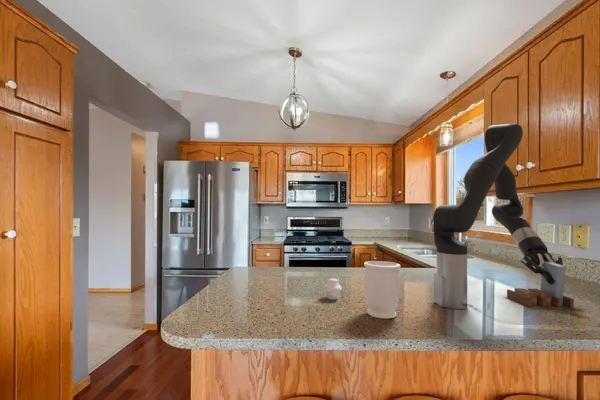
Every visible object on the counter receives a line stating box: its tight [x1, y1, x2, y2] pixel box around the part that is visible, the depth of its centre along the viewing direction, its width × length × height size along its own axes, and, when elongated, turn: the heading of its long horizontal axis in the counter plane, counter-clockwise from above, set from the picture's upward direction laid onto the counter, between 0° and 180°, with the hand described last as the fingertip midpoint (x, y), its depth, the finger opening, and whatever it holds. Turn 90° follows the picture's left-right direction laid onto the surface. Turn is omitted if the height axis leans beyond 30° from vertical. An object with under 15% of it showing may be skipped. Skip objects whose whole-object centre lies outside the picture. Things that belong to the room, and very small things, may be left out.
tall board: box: [540, 262, 566, 306], centre depth 99 cm, size 2×6×13 cm, turn 0°
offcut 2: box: [527, 288, 551, 306], centre depth 100 cm, size 3×6×4 cm, turn 179°
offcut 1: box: [513, 287, 537, 306], centre depth 100 cm, size 3×6×4 cm, turn 179°
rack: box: [505, 289, 575, 310], centre depth 100 cm, size 15×11×4 cm
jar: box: [363, 260, 402, 320], centre depth 88 cm, size 11×10×15 cm
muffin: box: [323, 278, 343, 301], centre depth 103 cm, size 6×6×7 cm
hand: (557, 283), depth 98 cm, fingers closed on tall board, 2 cm apart
